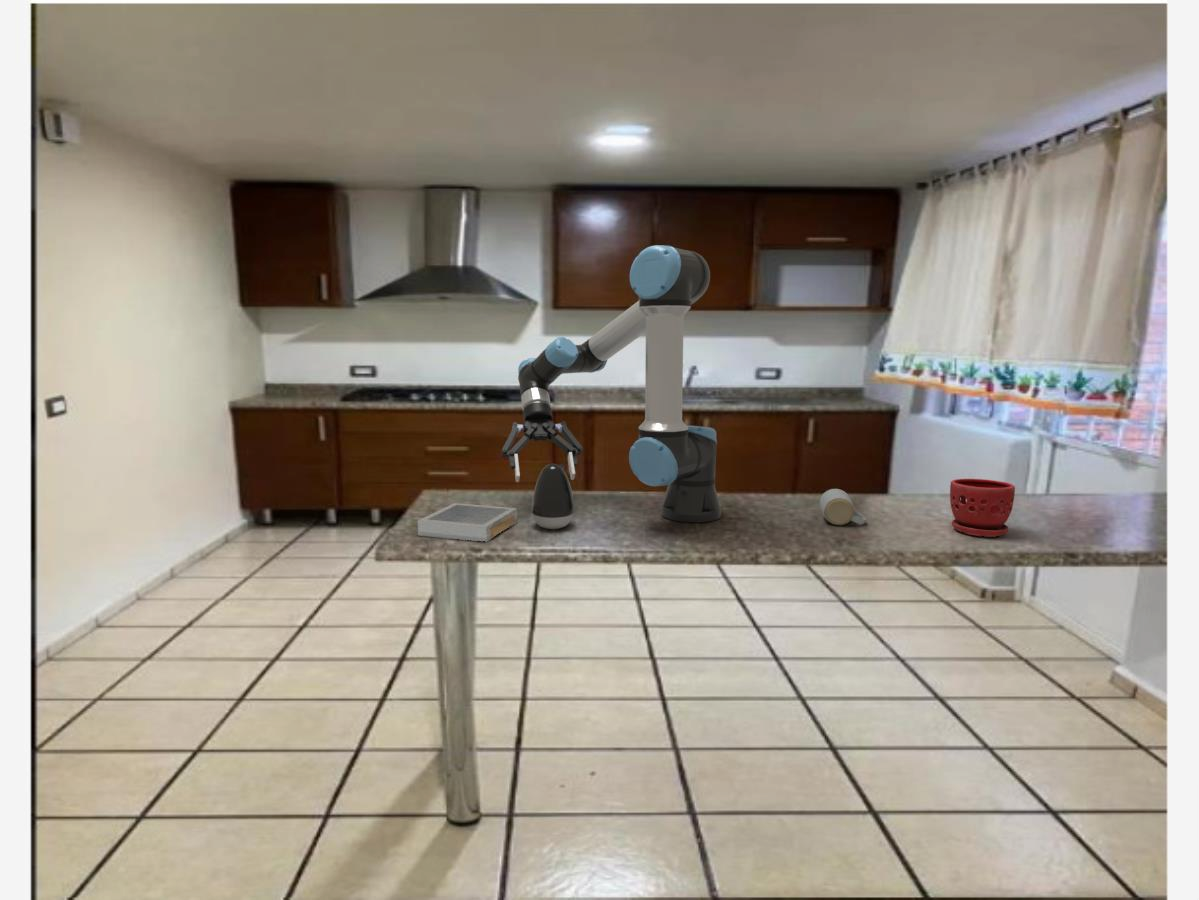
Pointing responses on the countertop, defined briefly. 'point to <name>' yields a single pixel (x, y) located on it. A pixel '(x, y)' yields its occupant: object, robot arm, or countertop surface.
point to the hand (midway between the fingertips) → (545, 478)
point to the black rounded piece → (553, 498)
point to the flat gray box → (467, 522)
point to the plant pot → (981, 506)
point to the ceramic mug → (839, 508)
